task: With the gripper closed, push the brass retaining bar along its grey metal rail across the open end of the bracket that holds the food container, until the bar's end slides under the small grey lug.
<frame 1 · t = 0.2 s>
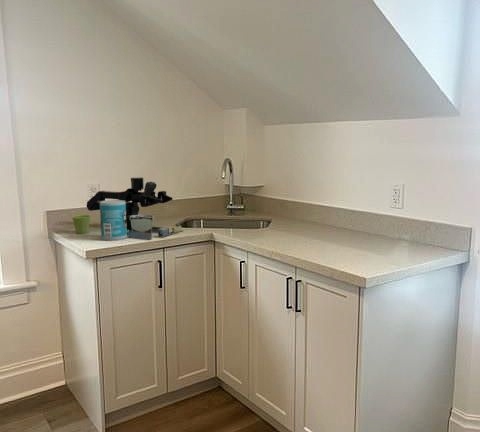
hand: (167, 200, 246), 17 cm above the worktop, tool horizontal, fingers open, 9 cm apart
food can: (114, 238, 235), on the worktop
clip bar: (176, 229, 248), point 2 cm above the worktop, slide at 0.0 cm
clip rail: (170, 234, 243), on the worktop
bracket: (143, 234, 243), on the worktop
plant pot: (82, 233, 249), on the worktop
food container: (143, 235, 243), resting in bracket
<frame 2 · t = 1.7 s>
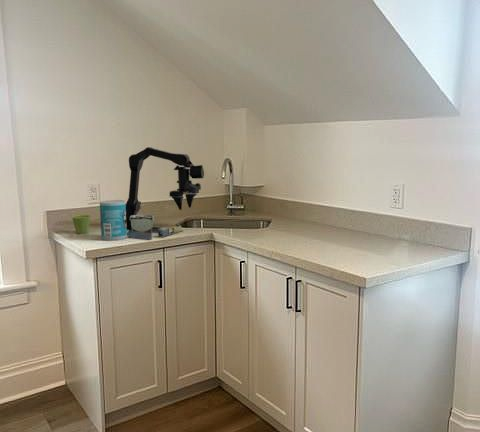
hand: (185, 208, 253), 11 cm above the worktop, tool pointing down, fingers open, 8 cm apart
nothing on the worktop moved.
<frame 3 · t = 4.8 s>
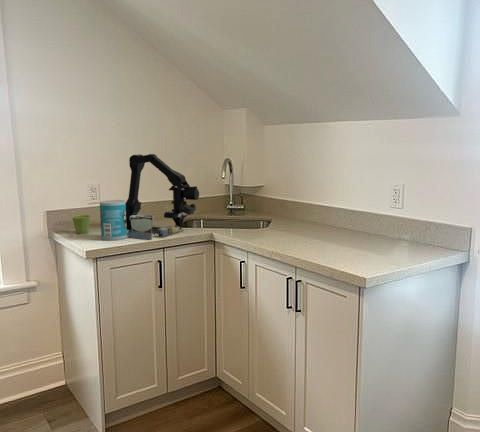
hand: (179, 229, 250), 1 cm above the worktop, tool pointing down, fingers closed
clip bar: (174, 229, 246), point 2 cm above the worktop, slide at 1.6 cm, touching gripper
everything else where it was.
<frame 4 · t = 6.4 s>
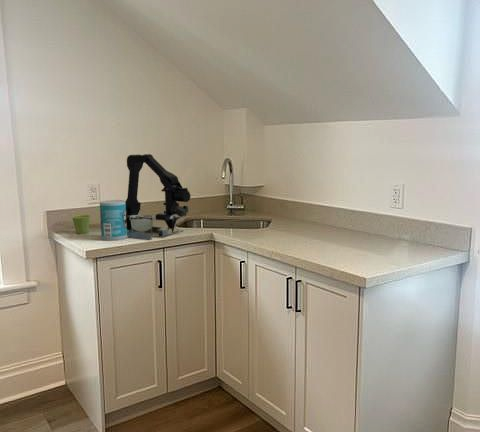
hand: (171, 231, 244), 1 cm above the worktop, tool pointing down, fingers closed
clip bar: (166, 231, 240), point 2 cm above the worktop, slide at 8.3 cm, touching gripper
everything else where it was.
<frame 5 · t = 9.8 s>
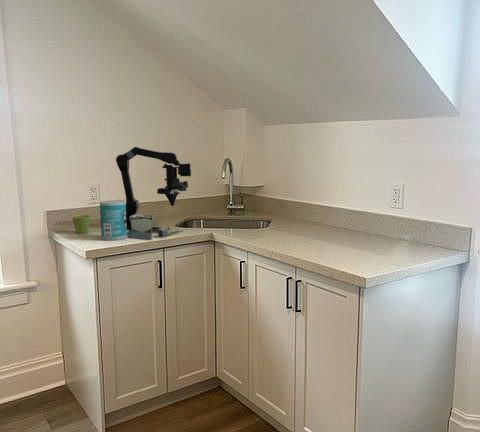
hand: (172, 205, 259), 12 cm above the worktop, tool pointing down, fingers closed
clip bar: (166, 231, 240), point 2 cm above the worktop, slide at 8.3 cm
everything else where it was.
at the end: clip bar slide at 8.3 cm; food container tilted 0° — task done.
